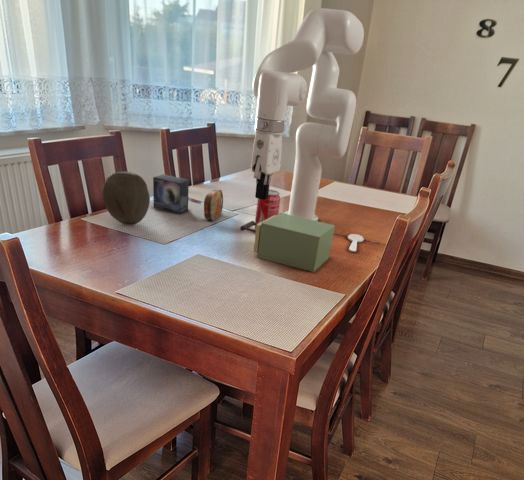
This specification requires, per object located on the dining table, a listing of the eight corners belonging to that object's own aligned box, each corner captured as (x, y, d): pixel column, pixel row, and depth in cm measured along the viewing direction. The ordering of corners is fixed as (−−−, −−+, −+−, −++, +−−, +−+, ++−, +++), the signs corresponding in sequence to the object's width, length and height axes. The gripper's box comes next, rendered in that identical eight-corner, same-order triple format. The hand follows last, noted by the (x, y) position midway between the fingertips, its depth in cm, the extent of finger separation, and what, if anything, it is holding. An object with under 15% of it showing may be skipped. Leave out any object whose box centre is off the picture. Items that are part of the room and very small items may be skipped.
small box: (152, 208, 164) (151, 176, 159) (162, 204, 169) (162, 173, 164) (179, 214, 161) (179, 182, 156) (188, 210, 166) (189, 179, 161)
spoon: (343, 250, 148) (343, 248, 147) (348, 234, 163) (349, 232, 163) (360, 253, 147) (361, 251, 147) (364, 237, 162) (364, 235, 162)
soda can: (278, 232, 156) (283, 191, 150) (271, 238, 151) (277, 196, 144) (258, 227, 158) (262, 187, 151) (250, 233, 152) (254, 191, 145)
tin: (210, 223, 157) (212, 197, 152) (201, 221, 157) (202, 195, 153) (223, 212, 169) (224, 187, 165) (214, 210, 170) (216, 186, 165)
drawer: (234, 247, 137) (236, 219, 133) (253, 236, 147) (255, 210, 143) (304, 265, 130) (309, 237, 126) (319, 253, 140) (324, 226, 136)
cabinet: (257, 257, 134) (261, 222, 129) (276, 244, 146) (280, 212, 140) (313, 272, 129) (319, 237, 124) (328, 258, 140) (335, 225, 135)
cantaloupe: (160, 225, 149) (160, 175, 141) (120, 232, 139) (118, 179, 132) (133, 213, 156) (132, 165, 149) (94, 219, 147) (90, 168, 139)
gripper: (271, 130, 117) (262, 206, 126) (293, 127, 129) (283, 196, 138) (243, 125, 119) (237, 200, 129) (267, 123, 131) (260, 191, 141)
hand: (261, 198), depth 133 cm, fingers closed
